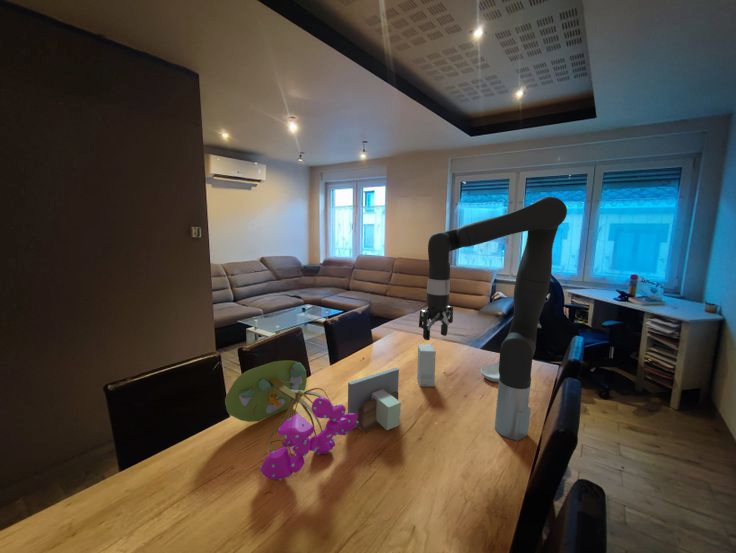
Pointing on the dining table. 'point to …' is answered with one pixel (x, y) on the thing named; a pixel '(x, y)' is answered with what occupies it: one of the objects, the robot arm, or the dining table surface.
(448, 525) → the dining table surface
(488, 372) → the spoon rest
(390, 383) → the wall board
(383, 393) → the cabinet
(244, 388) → the magenta clustered figurine
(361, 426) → the brown wooden block
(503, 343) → the robot arm
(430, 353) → the skincare box
